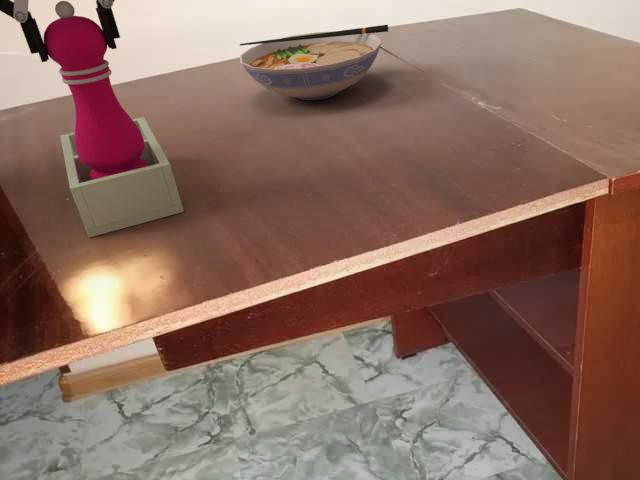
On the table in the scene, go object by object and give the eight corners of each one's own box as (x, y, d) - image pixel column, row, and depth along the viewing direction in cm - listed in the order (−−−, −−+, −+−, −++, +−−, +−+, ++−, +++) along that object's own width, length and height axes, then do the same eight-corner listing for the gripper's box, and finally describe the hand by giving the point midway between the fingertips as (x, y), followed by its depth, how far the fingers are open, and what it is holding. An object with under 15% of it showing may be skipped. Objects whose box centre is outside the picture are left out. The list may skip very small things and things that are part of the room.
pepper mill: (167, 172, 83) (114, -7, 72) (122, 198, 77) (57, 9, 67) (122, 166, 85) (65, -7, 75) (76, 191, 80) (7, 8, 70)
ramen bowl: (229, 124, 106) (216, 70, 102) (254, 80, 125) (244, 34, 121) (393, 109, 106) (387, 54, 101) (392, 67, 125) (388, 20, 121)
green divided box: (88, 238, 77) (69, 188, 74) (76, 178, 93) (60, 135, 90) (184, 211, 81) (169, 163, 78) (156, 158, 96) (143, 116, 93)
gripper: (105, -153, 70) (156, 31, 79) (-91, -135, 64) (-11, 62, 73) (114, -156, 64) (168, 43, 74) (-101, -137, 58) (-13, 77, 68)
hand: (78, 51), depth 73 cm, fingers closed on pepper mill, 6 cm apart
